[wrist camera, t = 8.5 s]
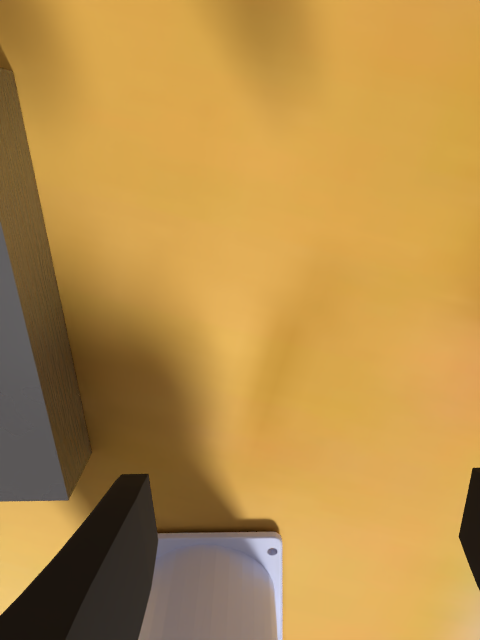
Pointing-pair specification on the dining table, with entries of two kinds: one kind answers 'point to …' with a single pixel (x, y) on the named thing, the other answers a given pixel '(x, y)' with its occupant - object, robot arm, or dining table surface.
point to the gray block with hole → (32, 336)
